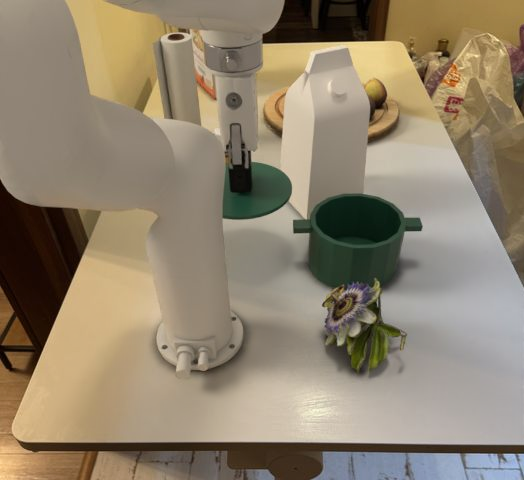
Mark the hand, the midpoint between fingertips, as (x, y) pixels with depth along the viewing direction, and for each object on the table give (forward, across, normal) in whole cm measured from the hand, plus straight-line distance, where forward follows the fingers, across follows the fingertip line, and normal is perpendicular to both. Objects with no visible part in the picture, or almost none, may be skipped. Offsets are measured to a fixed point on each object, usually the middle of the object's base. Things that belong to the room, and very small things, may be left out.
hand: (241, 182), depth 79 cm
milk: (+14, +17, -14) cm, 26 cm away
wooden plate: (+14, +52, -19) cm, 57 cm away
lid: (+1, 0, 0) cm, 1 cm away
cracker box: (+14, +70, +10) cm, 72 cm away
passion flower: (+13, -21, -17) cm, 30 cm away
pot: (+13, -3, -18) cm, 22 cm away
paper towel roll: (+14, +40, +14) cm, 44 cm away
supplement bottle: (+14, +24, +4) cm, 28 cm away
